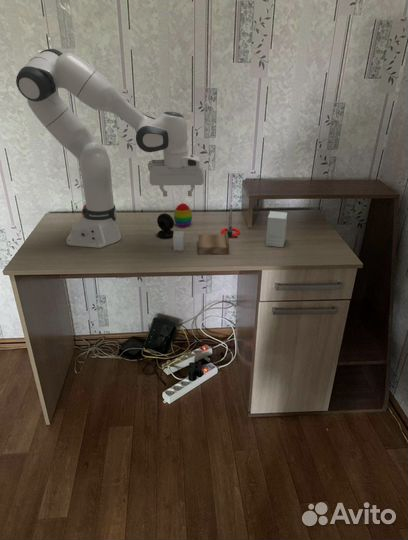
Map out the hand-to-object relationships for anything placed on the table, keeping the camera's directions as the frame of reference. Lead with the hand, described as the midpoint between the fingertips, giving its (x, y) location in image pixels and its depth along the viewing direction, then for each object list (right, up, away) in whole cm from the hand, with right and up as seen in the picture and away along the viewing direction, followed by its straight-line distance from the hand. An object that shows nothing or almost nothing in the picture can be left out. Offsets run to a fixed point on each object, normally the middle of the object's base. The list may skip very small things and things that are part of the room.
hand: (177, 195), depth 154 cm
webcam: (-6, -13, +21) cm, 26 cm away
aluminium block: (0, -19, +11) cm, 22 cm away
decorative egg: (0, -8, +32) cm, 33 cm away
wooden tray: (+14, -19, +11) cm, 26 cm away
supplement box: (+40, -17, +15) cm, 46 cm away
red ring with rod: (+22, -12, +23) cm, 34 cm away
